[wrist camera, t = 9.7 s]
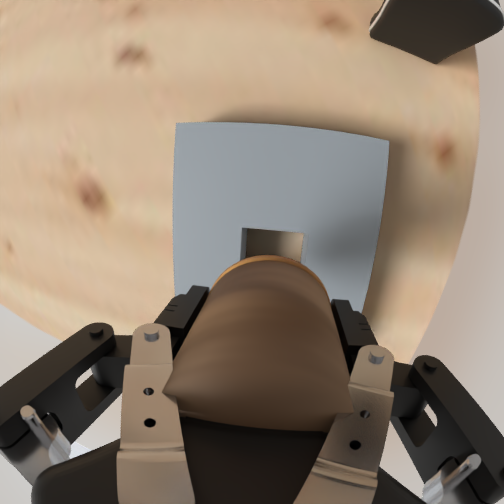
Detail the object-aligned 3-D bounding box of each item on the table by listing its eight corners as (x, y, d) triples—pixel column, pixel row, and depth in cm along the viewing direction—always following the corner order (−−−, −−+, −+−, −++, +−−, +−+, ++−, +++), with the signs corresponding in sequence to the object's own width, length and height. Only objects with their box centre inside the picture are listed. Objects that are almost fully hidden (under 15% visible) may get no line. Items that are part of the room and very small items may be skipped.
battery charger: (436, 36, 14) (504, -11, 3) (437, 67, 15) (517, 28, 5) (367, 7, 15) (410, -68, 4) (365, 38, 16) (418, -36, 5)
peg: (220, 322, 16) (164, 469, 7) (222, 231, 14) (124, 350, 5) (313, 331, 16) (330, 487, 6) (328, 241, 14) (399, 378, 4)
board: (191, 331, 25) (179, 353, 22) (192, 128, 20) (176, 123, 16) (338, 345, 24) (344, 369, 21) (373, 144, 19) (389, 140, 15)
